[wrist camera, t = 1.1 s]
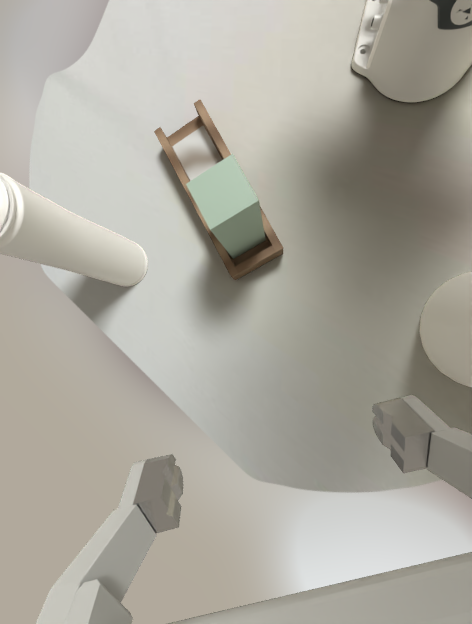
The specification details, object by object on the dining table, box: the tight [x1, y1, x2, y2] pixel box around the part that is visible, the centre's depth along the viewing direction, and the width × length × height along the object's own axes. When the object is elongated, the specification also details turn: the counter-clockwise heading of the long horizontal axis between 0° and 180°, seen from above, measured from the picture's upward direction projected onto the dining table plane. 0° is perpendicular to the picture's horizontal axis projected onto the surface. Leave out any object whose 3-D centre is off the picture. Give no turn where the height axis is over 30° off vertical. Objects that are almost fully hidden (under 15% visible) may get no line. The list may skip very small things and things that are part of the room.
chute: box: [154, 100, 283, 280], centre depth 41 cm, size 28×9×4 cm, turn 28°
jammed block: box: [186, 154, 266, 259], centre depth 34 cm, size 6×6×14 cm
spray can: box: [0, 172, 148, 287], centre depth 33 cm, size 12×11×25 cm
